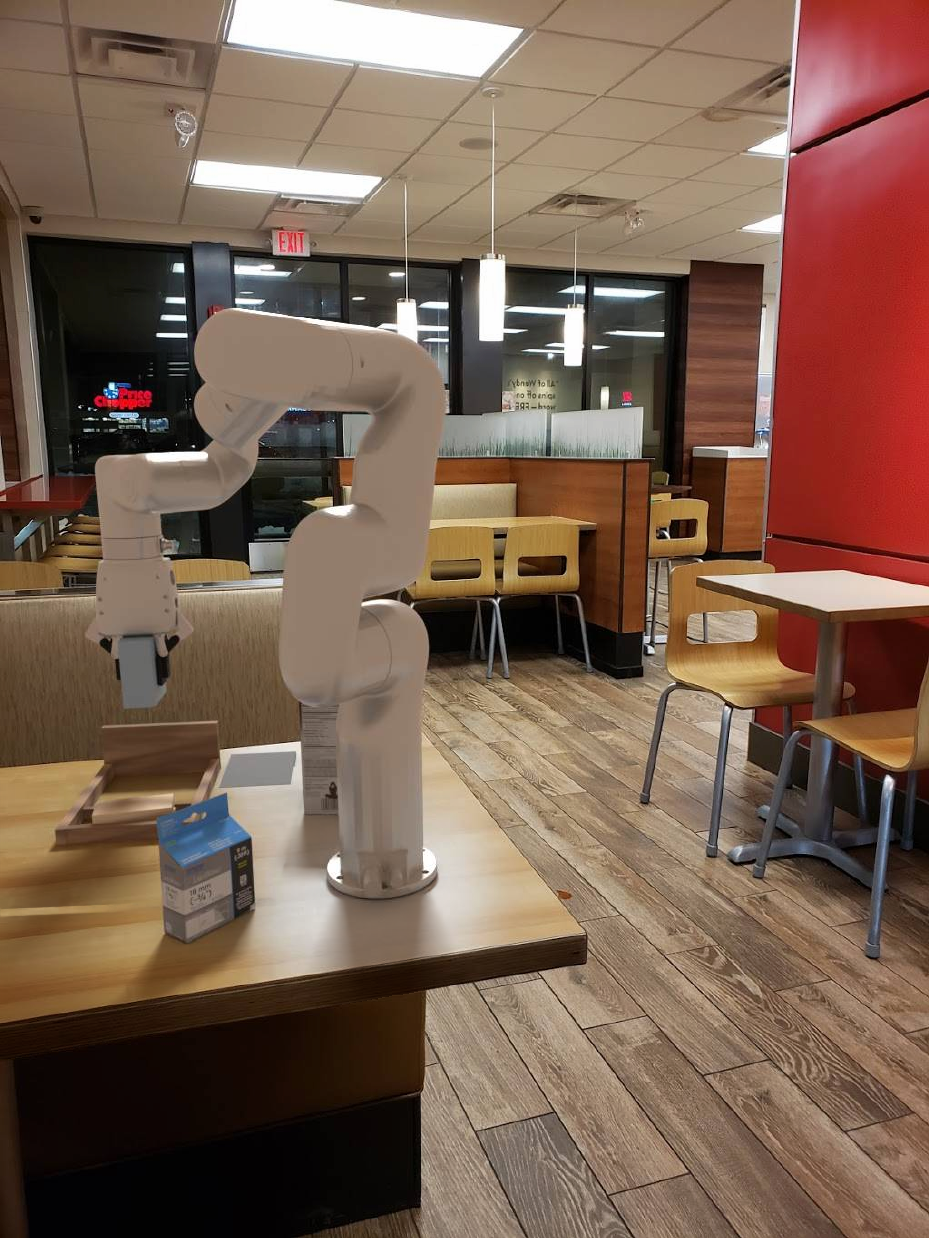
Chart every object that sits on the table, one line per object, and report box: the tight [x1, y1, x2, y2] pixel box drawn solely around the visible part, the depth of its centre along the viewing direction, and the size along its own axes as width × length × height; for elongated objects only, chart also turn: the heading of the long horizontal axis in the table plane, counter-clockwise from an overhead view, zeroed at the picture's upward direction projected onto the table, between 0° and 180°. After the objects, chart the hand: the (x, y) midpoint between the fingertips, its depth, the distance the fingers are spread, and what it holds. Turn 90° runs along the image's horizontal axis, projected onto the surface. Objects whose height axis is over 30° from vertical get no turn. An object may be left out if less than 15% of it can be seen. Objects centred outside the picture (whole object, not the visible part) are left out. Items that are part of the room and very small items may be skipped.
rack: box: [54, 720, 222, 846], centre depth 123 cm, size 24×16×8 cm
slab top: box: [91, 793, 175, 824], centre depth 115 cm, size 5×9×2 cm, turn 105°
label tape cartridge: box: [156, 792, 256, 944], centre depth 93 cm, size 9×4×12 cm, turn 143°
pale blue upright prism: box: [118, 635, 168, 710], centre depth 123 cm, size 8×4×9 cm, turn 7°
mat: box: [218, 750, 297, 789], centre depth 136 cm, size 14×10×1 cm
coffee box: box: [298, 701, 340, 815], centre depth 123 cm, size 9×6×16 cm
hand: (144, 682), depth 123 cm, fingers closed on pale blue upright prism, 4 cm apart
